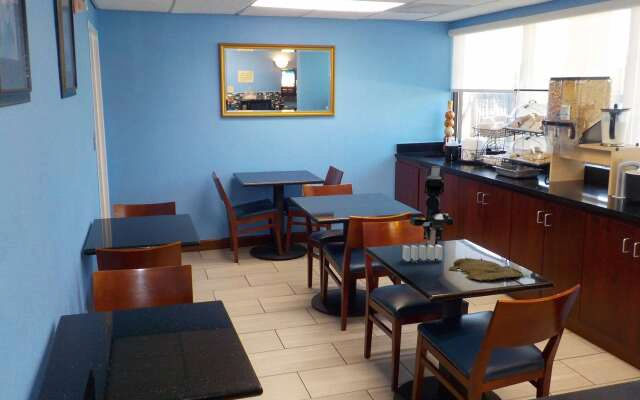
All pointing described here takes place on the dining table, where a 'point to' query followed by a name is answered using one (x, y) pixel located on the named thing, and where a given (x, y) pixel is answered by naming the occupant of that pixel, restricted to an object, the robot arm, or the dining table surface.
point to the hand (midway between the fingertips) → (430, 240)
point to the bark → (484, 269)
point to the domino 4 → (432, 237)
